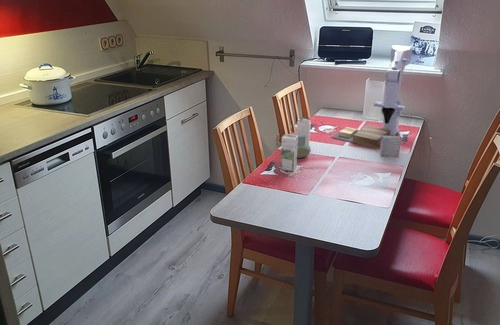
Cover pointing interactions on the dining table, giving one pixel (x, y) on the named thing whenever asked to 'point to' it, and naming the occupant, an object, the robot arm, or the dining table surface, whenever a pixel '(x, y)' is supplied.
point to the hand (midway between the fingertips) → (386, 123)
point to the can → (304, 128)
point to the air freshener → (302, 146)
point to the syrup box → (289, 152)
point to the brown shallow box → (370, 136)
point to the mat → (343, 137)
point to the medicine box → (390, 146)
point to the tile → (347, 132)
